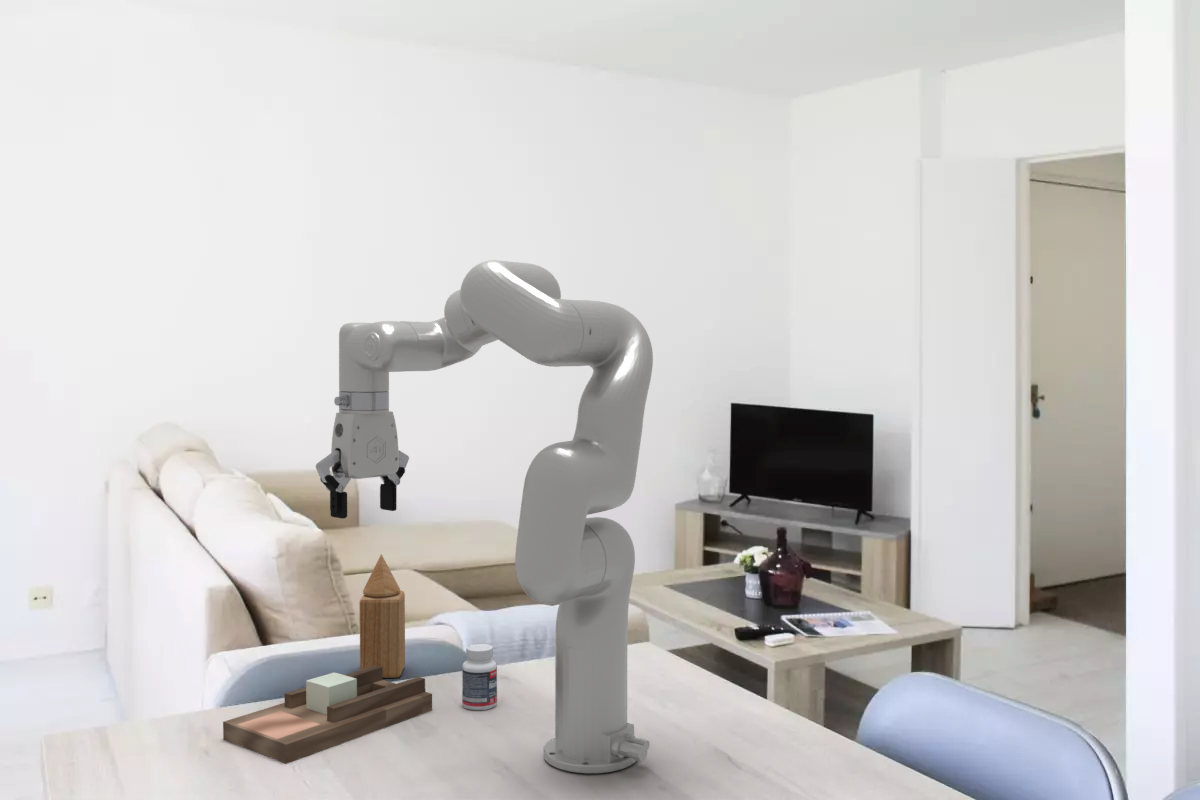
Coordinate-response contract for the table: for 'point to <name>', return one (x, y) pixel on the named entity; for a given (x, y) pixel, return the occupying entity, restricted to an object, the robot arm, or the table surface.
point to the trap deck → (328, 717)
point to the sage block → (329, 691)
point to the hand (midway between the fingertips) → (364, 513)
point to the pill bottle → (479, 678)
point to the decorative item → (382, 623)
